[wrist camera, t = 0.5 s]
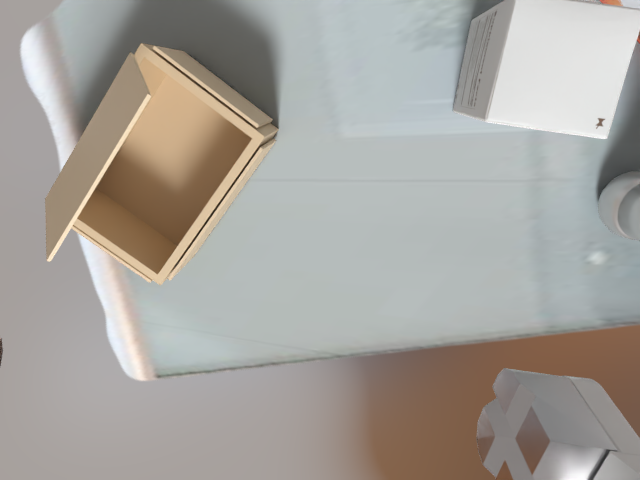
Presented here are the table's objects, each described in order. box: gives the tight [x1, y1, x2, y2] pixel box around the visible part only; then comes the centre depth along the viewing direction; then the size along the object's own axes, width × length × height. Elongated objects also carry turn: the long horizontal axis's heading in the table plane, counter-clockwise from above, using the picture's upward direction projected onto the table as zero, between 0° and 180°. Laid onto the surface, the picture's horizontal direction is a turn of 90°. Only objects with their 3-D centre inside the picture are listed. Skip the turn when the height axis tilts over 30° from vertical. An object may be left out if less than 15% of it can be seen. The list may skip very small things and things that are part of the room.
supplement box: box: [453, 0, 640, 139], centre depth 42 cm, size 9×9×15 cm
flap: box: [45, 52, 151, 262], centre depth 42 cm, size 16×1×10 cm
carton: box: [71, 43, 279, 285], centre depth 51 cm, size 19×14×8 cm
